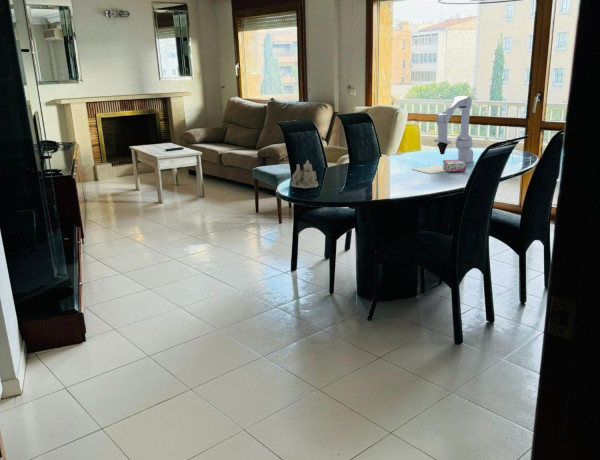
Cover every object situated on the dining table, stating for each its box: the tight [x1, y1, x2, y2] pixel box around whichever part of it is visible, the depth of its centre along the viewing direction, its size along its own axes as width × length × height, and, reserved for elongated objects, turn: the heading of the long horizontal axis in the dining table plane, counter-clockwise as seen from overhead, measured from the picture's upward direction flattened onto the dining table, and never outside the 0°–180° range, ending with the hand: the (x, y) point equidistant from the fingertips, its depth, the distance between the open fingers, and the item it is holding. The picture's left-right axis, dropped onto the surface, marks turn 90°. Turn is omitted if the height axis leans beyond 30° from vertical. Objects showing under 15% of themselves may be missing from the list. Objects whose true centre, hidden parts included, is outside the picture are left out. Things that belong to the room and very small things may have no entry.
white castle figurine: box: [290, 160, 319, 189], centre depth 325 cm, size 16×16×15 cm
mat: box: [411, 164, 448, 175], centre depth 351 cm, size 20×20×1 cm
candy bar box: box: [442, 159, 467, 173], centre depth 345 cm, size 11×5×16 cm
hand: (442, 154), depth 350 cm, fingers closed
